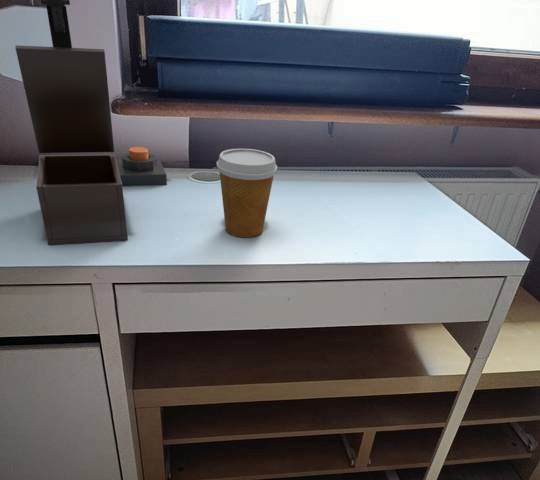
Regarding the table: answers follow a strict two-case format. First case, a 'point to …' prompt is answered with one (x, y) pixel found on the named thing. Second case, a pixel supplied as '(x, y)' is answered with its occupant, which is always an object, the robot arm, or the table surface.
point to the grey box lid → (67, 98)
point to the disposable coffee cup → (245, 189)
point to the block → (141, 171)
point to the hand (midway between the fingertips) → (64, 56)
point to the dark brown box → (81, 198)
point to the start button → (138, 153)
